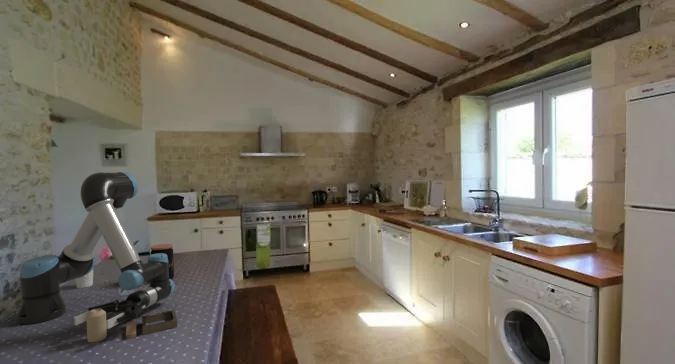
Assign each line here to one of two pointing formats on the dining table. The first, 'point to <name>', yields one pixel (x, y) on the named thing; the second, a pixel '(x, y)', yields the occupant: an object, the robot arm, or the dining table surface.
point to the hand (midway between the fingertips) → (90, 323)
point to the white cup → (85, 280)
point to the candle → (96, 325)
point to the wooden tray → (161, 325)
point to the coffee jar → (168, 251)
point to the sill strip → (131, 329)
